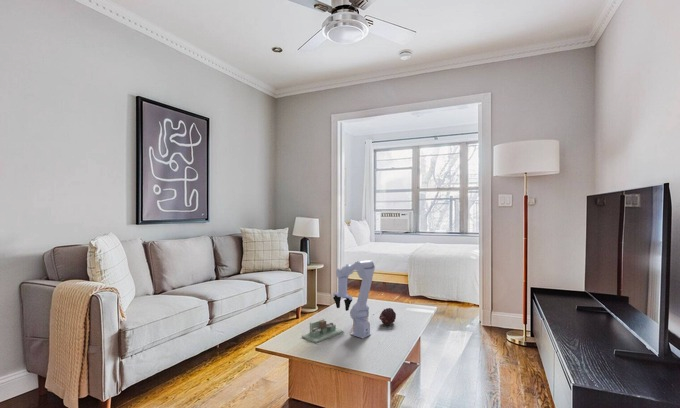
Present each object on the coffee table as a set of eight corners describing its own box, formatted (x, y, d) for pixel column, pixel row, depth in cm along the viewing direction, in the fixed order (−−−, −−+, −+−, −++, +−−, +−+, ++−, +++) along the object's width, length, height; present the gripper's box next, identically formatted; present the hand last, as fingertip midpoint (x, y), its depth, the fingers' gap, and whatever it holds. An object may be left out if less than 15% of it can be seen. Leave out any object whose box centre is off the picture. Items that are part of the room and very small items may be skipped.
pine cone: (385, 318, 234) (385, 303, 234) (400, 321, 229) (400, 305, 229) (375, 327, 218) (375, 311, 218) (391, 329, 213) (391, 313, 213)
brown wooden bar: (335, 325, 210) (335, 318, 209) (315, 332, 198) (315, 325, 198) (329, 323, 213) (329, 317, 212) (309, 330, 201) (309, 323, 201)
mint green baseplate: (343, 332, 209) (343, 320, 209) (316, 343, 193) (316, 330, 193) (329, 327, 217) (329, 316, 217) (301, 337, 201) (301, 325, 201)
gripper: (329, 286, 224) (329, 308, 224) (346, 290, 214) (346, 313, 214) (337, 284, 229) (337, 305, 229) (354, 288, 219) (354, 310, 219)
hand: (342, 309), depth 222 cm, fingers open, 7 cm apart
